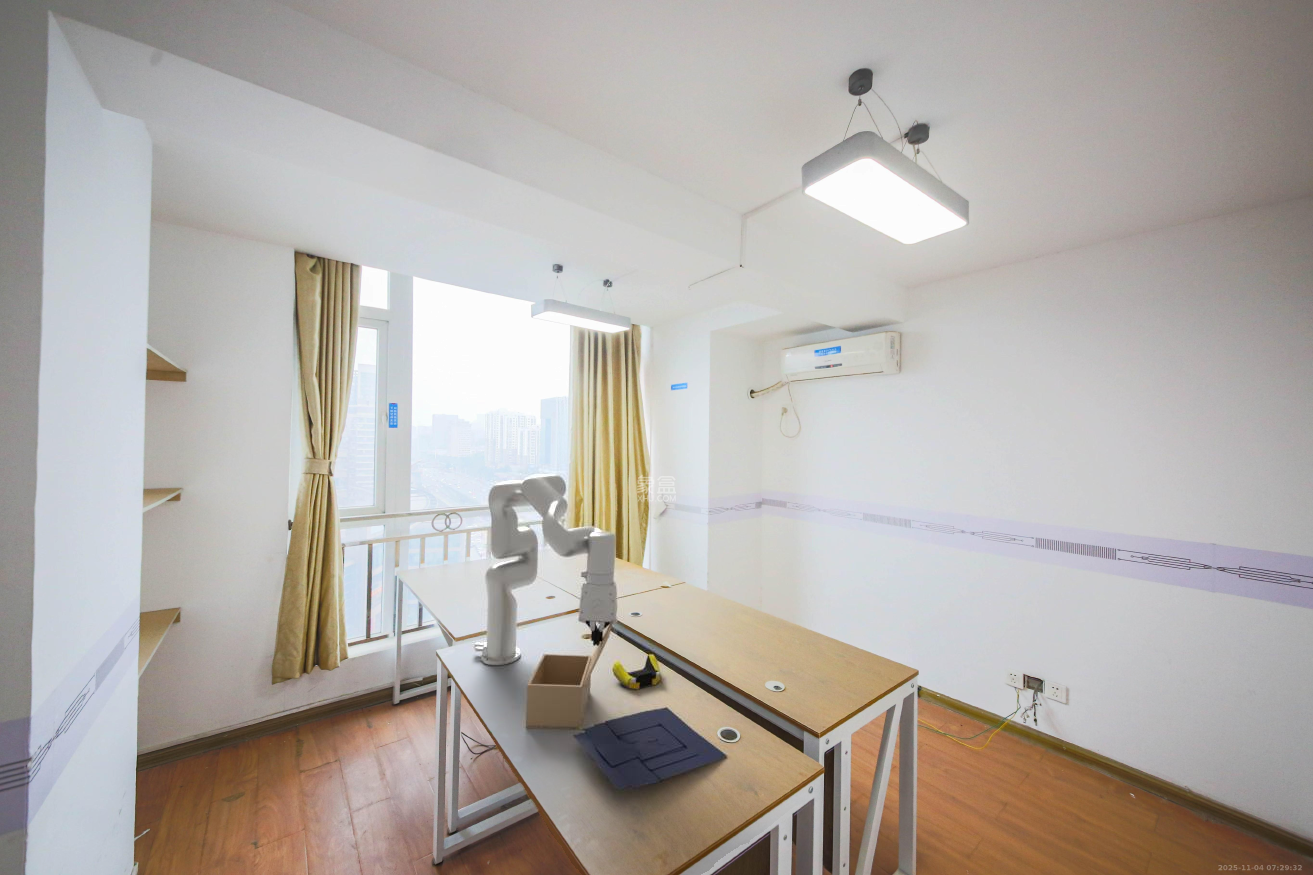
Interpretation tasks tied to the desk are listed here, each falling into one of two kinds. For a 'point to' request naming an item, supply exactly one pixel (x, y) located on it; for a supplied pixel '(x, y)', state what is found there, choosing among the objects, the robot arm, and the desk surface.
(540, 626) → the desk surface
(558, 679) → the carton
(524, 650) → the desk surface
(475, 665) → the desk surface
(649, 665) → the gaming controller
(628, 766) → the folded navy cloth
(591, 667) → the flap
